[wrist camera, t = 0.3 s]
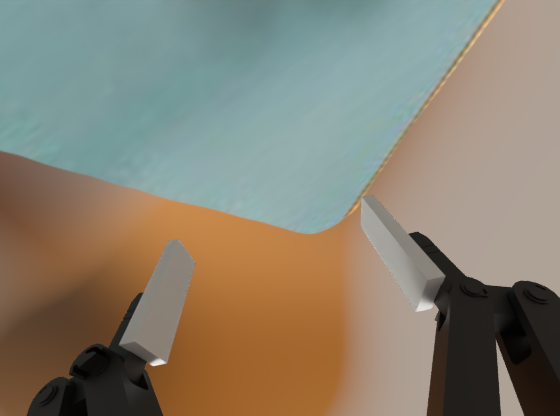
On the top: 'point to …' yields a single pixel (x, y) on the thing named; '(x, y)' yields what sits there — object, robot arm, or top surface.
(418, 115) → the top surface
